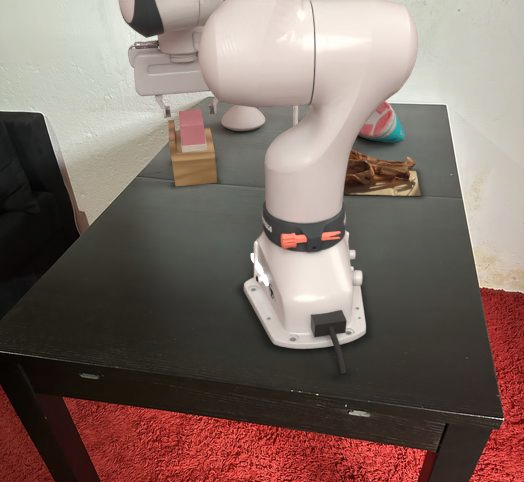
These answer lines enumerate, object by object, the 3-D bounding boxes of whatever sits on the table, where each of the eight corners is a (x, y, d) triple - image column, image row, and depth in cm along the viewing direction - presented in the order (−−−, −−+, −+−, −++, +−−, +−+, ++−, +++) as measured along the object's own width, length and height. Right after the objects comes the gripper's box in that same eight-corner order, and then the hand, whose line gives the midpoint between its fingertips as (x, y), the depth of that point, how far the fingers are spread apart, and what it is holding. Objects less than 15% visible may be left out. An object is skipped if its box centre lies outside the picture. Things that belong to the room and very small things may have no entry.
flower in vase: (265, 134, 132) (262, 20, 115) (220, 136, 133) (211, 21, 116) (265, 116, 142) (263, 8, 125) (223, 117, 142) (215, 9, 125)
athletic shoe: (403, 155, 123) (427, 105, 121) (378, 136, 118) (403, 83, 116) (336, 144, 144) (356, 101, 142) (312, 128, 139) (332, 83, 136)
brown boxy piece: (217, 182, 113) (213, 139, 107) (175, 186, 113) (169, 142, 106) (212, 158, 123) (209, 116, 116) (174, 161, 122) (168, 120, 116)
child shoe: (207, 150, 109) (204, 124, 105) (182, 152, 108) (178, 126, 105) (203, 129, 118) (201, 104, 114) (180, 131, 117) (177, 106, 114)
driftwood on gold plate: (288, 138, 114) (420, 139, 112) (288, 168, 119) (414, 169, 116) (284, 162, 104) (429, 164, 101) (284, 194, 108) (423, 196, 106)
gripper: (125, 46, 96) (139, 124, 105) (235, 38, 98) (240, 115, 107) (126, 38, 101) (140, 113, 110) (232, 31, 102) (236, 106, 112)
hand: (190, 114), depth 108 cm, fingers open, 8 cm apart
